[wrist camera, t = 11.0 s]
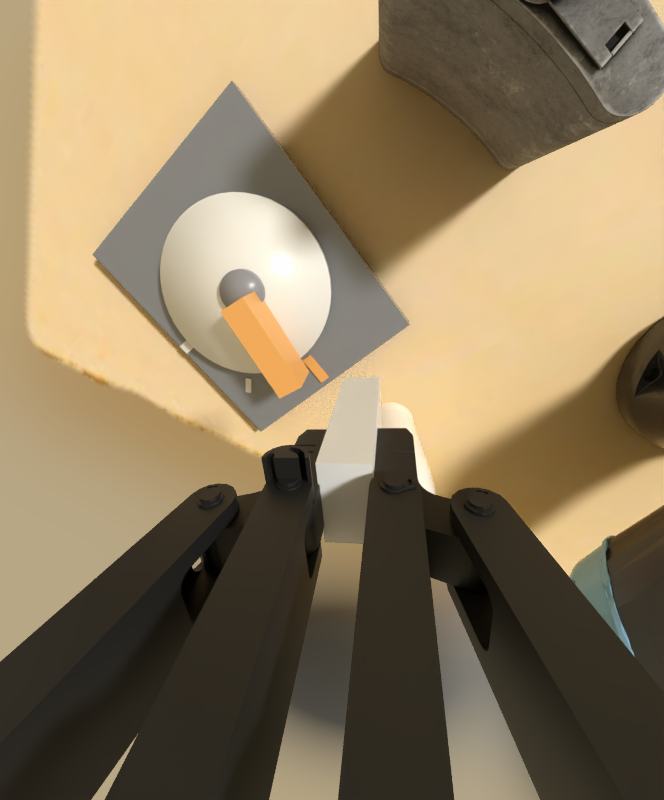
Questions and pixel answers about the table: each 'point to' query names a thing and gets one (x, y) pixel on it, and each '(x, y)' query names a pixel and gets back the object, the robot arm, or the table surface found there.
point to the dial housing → (274, 179)
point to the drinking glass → (402, 418)
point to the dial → (247, 286)
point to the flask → (527, 66)
